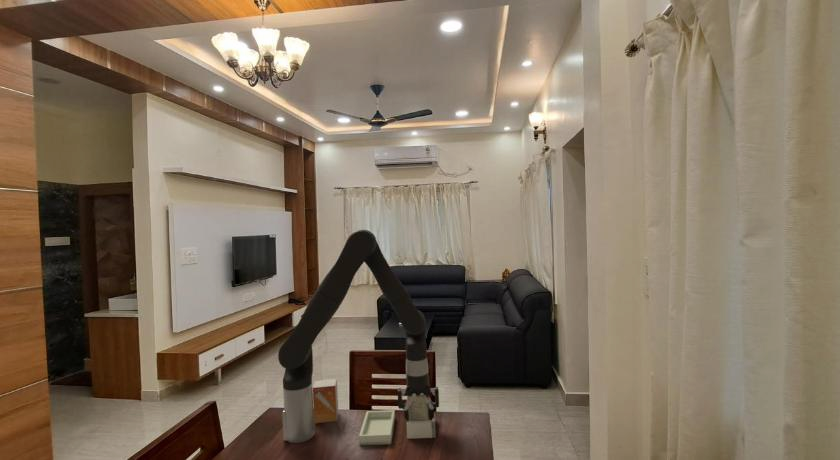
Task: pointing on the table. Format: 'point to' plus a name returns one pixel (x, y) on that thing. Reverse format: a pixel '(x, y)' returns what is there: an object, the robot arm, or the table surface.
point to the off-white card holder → (421, 429)
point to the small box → (325, 401)
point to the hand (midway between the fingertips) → (419, 419)
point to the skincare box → (419, 409)
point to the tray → (377, 428)
